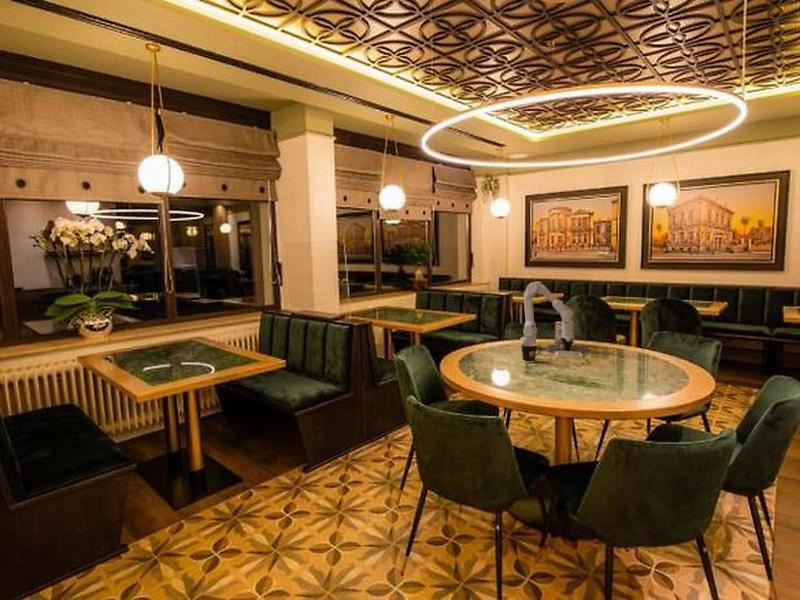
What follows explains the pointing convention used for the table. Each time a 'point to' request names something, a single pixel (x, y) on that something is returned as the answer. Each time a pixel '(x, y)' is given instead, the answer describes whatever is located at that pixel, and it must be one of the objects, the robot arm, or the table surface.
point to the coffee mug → (529, 351)
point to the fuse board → (572, 350)
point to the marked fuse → (564, 347)
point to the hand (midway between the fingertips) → (566, 350)
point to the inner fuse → (553, 348)
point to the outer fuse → (580, 348)
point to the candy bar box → (559, 333)
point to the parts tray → (569, 355)
